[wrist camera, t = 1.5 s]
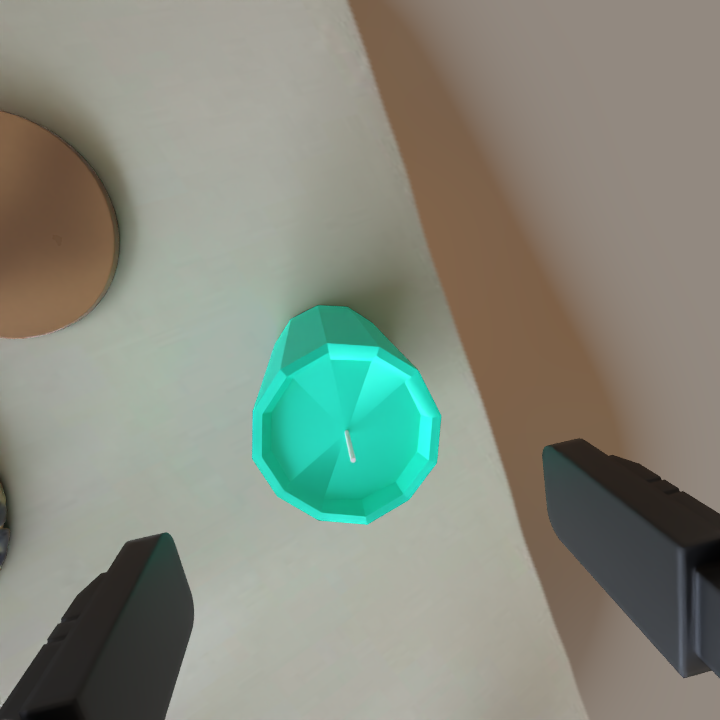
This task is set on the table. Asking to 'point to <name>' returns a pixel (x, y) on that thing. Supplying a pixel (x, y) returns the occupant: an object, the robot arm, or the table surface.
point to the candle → (343, 419)
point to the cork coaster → (50, 232)
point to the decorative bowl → (2, 534)
